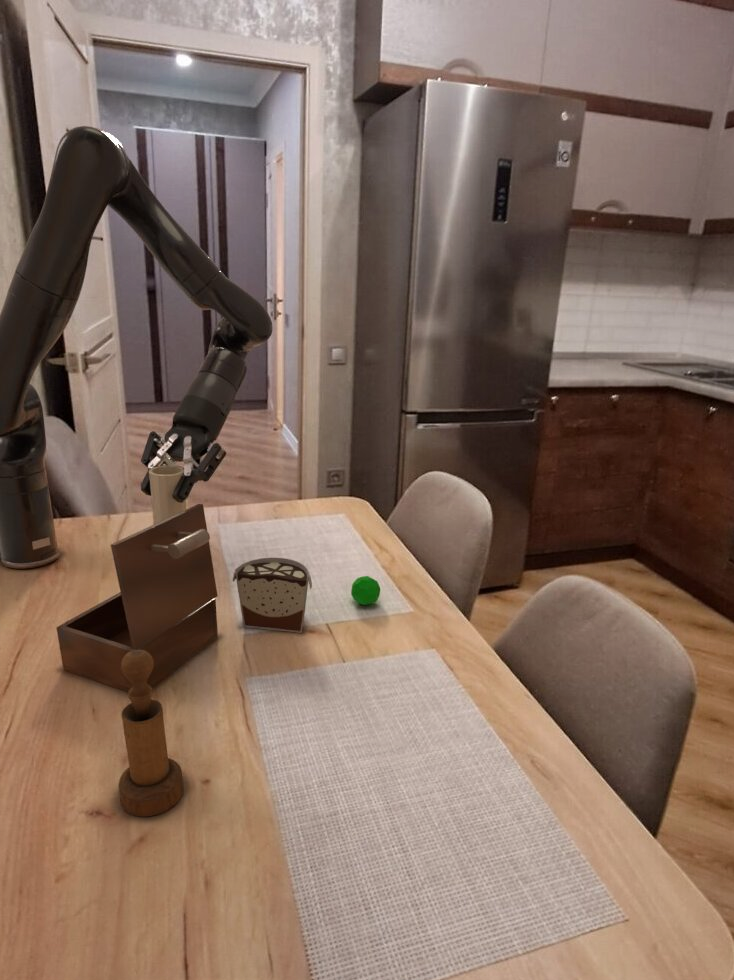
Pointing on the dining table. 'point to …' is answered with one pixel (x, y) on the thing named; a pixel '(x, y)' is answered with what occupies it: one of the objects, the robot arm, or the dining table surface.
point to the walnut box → (106, 640)
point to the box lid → (164, 573)
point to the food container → (273, 593)
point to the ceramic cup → (165, 491)
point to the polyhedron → (365, 590)
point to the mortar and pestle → (146, 746)
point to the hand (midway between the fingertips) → (161, 496)
